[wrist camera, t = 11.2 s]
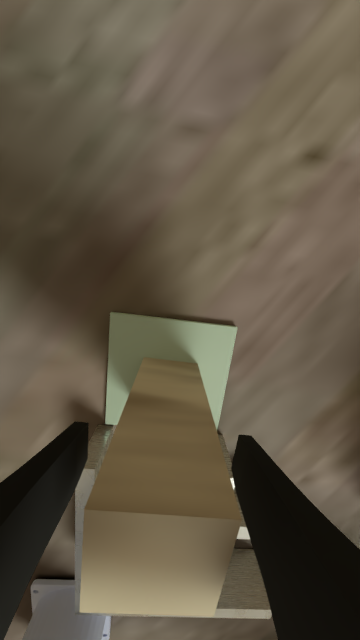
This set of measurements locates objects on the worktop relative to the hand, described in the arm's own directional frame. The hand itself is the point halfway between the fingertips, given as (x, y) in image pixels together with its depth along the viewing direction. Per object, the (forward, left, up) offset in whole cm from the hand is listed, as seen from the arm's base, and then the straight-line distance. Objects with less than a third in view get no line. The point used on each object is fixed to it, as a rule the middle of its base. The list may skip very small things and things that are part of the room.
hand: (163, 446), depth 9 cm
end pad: (+1, 0, -6) cm, 6 cm away
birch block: (0, 0, -5) cm, 5 cm away
